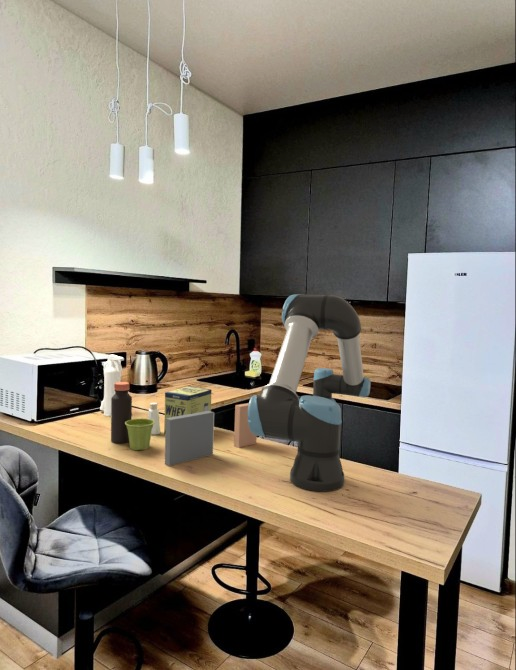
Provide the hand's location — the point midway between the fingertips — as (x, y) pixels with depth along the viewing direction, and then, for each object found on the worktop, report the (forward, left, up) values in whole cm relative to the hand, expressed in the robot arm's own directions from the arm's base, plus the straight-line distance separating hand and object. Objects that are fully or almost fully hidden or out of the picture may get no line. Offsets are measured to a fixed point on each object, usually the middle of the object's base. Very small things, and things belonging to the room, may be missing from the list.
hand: (266, 419), depth 170 cm
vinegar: (+22, +45, -8) cm, 51 cm away
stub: (-2, +9, -7) cm, 12 cm away
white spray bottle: (+59, +38, -8) cm, 71 cm away
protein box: (+22, +20, -8) cm, 31 cm away
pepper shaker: (+26, +32, -8) cm, 42 cm away
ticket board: (-6, +32, -8) cm, 34 cm away
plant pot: (+12, +42, -8) cm, 44 cm away
